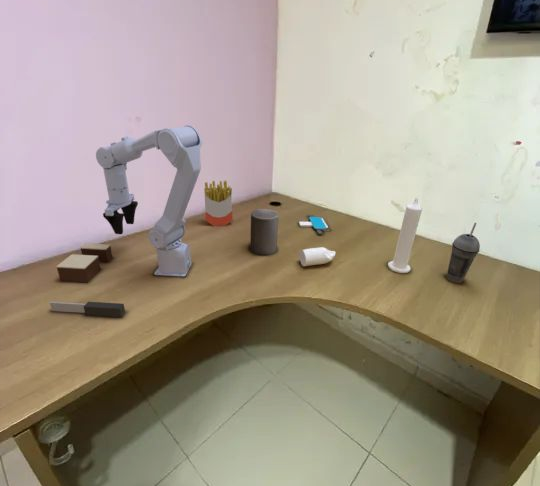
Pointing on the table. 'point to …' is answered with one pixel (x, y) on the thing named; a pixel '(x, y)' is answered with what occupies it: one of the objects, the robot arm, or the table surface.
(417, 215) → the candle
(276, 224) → the pillar candle
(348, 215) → the table surface
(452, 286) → the table surface
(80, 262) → the cake
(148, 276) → the table surface
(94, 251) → the cake slice
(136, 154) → the robot arm
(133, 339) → the table surface
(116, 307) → the knife
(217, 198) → the french fries container
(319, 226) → the blue flat paddle
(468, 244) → the beverage cup
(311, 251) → the white bottle
